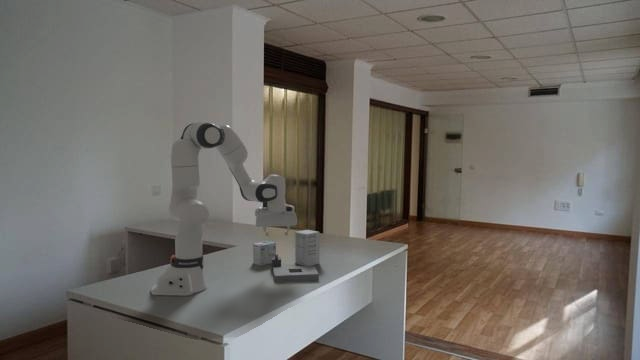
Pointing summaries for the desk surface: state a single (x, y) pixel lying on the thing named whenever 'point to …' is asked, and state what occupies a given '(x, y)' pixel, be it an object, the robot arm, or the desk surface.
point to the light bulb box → (263, 252)
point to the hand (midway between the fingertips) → (276, 235)
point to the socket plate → (295, 273)
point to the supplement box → (307, 247)
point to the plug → (276, 261)
